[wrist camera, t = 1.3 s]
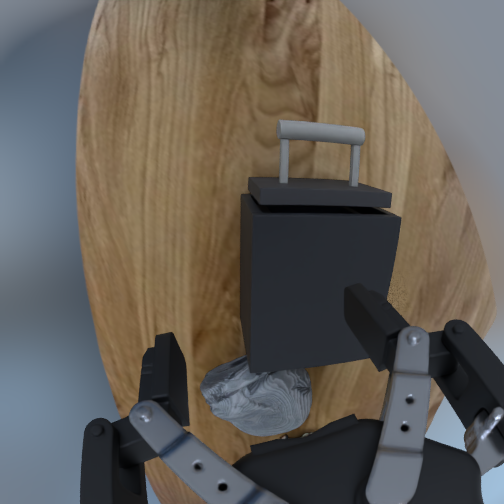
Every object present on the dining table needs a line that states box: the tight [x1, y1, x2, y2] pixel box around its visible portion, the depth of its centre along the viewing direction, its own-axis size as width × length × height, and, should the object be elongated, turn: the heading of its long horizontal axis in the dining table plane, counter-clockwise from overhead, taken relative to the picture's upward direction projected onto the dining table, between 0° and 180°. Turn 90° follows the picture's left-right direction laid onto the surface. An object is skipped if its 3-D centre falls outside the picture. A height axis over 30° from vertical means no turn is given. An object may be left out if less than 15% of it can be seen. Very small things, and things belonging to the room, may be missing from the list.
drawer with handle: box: [248, 120, 392, 214], centre depth 25 cm, size 17×10×7 cm, turn 179°
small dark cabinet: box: [240, 194, 401, 373], centre depth 26 cm, size 14×12×9 cm
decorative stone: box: [200, 355, 312, 436], centre depth 32 cm, size 15×14×10 cm
